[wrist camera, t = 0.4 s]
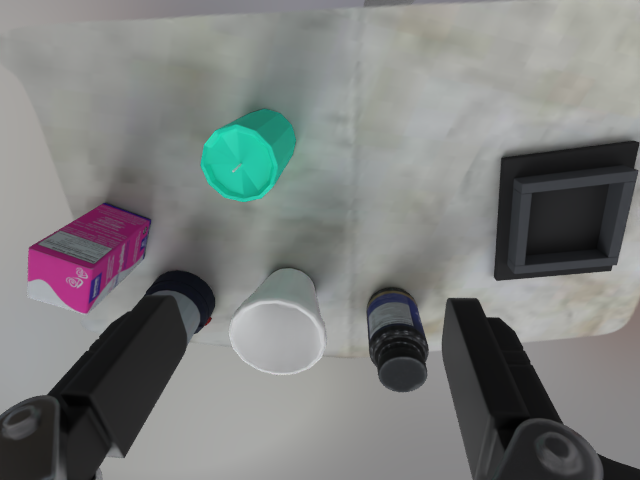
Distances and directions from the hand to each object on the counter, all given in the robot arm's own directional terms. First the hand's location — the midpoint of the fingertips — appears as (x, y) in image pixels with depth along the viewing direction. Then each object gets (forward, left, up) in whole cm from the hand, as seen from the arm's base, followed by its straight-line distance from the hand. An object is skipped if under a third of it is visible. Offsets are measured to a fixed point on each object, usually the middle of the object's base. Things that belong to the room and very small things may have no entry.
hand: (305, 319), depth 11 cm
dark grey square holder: (+11, +22, -29) cm, 38 cm away
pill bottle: (+21, +4, -29) cm, 36 cm away
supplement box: (+7, -26, -29) cm, 39 cm away
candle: (-1, -7, -29) cm, 30 cm away
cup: (+17, -8, -29) cm, 34 cm away
